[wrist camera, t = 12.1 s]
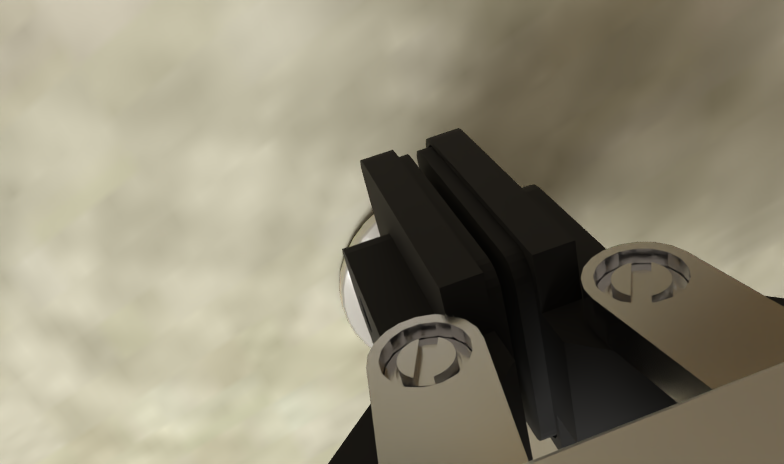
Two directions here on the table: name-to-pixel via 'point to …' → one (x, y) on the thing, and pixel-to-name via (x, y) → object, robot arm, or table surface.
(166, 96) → the table surface
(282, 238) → the table surface
